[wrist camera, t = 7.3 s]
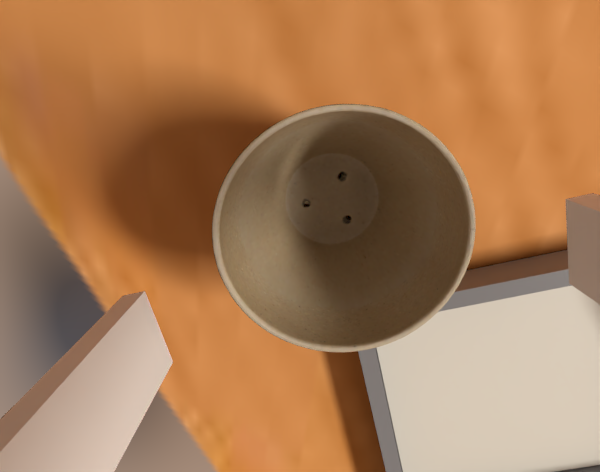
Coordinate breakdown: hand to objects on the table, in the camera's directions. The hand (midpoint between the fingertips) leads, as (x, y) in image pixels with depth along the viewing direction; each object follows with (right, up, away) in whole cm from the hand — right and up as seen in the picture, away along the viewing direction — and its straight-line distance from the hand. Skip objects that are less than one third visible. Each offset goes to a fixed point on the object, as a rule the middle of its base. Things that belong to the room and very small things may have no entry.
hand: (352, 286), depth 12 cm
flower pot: (0, +4, +10) cm, 10 cm away
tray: (+11, -8, +13) cm, 19 cm away
